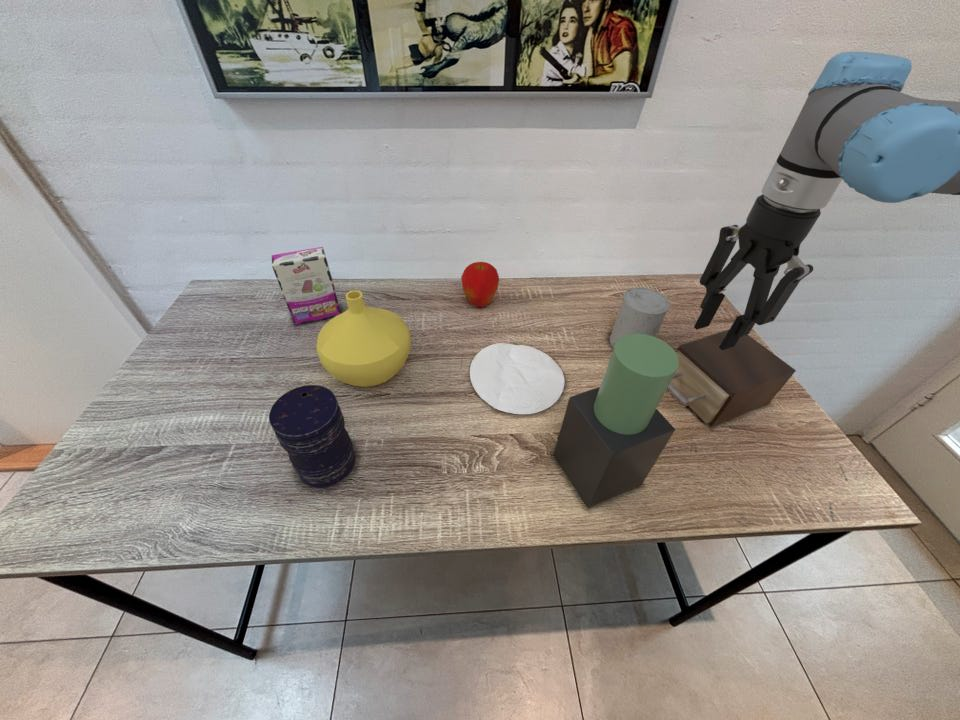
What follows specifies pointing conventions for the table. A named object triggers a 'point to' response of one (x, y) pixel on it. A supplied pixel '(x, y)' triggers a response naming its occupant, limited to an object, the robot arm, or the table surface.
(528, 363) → the plaque
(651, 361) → the tin
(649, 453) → the riser
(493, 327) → the table surface
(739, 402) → the cabinet
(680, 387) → the drawer
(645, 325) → the grey concrete cylinder
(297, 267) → the candy bar box
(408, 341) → the vase
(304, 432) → the dark blue cylinder
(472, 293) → the apple
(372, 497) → the table surface
